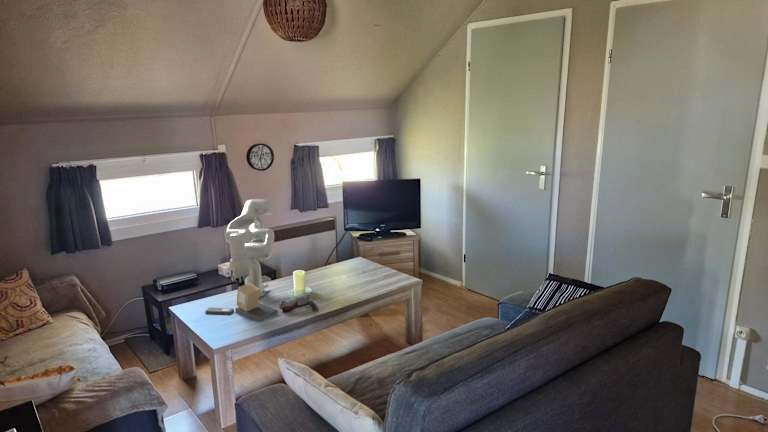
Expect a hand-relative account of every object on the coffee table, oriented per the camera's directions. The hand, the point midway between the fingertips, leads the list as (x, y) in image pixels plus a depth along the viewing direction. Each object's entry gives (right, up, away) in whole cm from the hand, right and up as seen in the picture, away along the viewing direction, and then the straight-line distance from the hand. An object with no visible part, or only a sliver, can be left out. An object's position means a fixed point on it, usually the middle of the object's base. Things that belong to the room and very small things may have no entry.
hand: (241, 288), depth 262 cm
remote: (-12, -14, +1) cm, 18 cm away
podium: (+8, -13, -1) cm, 16 cm away
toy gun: (+31, -13, +1) cm, 34 cm away
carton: (+3, -9, 0) cm, 10 cm away
